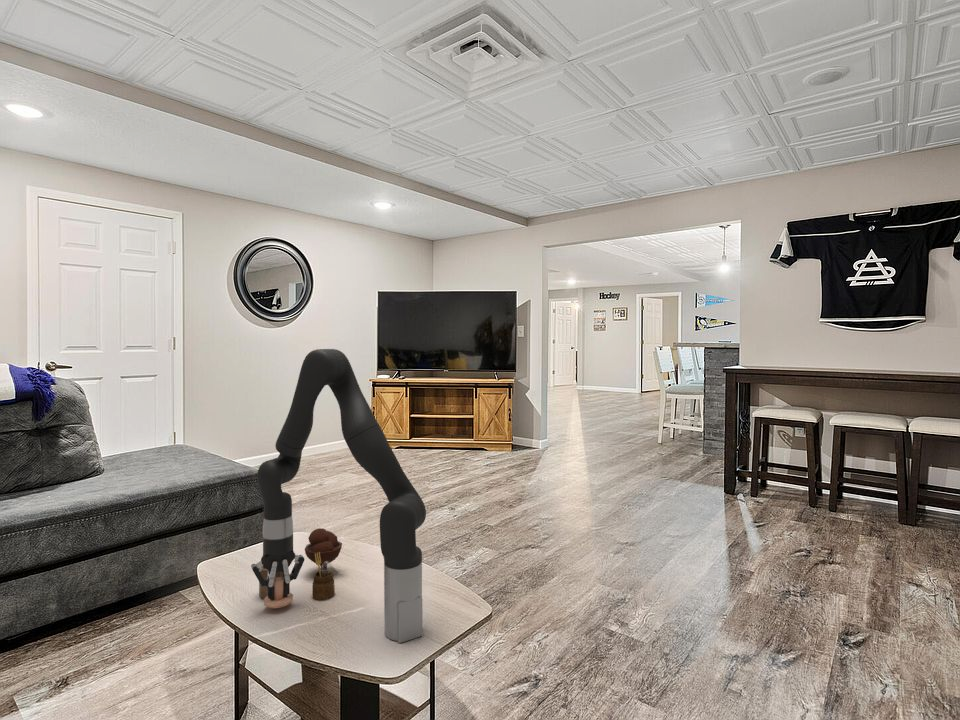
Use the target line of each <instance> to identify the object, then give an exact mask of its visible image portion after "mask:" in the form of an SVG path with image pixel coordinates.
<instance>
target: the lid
mask: <svg viewBox="0 0 960 720" xmlns="http://www.w3.org/2000/svg"><path fill="white" fill-rule="evenodd" d="M273 586H274V600H272V601H271V600H270V599H269V598H268V596H266V597H265V598H264V600H263V606H264V607H266V608H269V609H278V608H279V609H280V608H284V607H286V606H288V605H290V604H291V603H292V602H293V601H294V595H293V593H292V592H290V593H289V594H288V595H287V597H285V598H284V578H283V577H276V578H274V583H273Z"/></svg>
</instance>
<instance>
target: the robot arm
mask: <svg viewBox="0 0 960 720" xmlns="http://www.w3.org/2000/svg"><path fill="white" fill-rule="evenodd" d="M326 386H328V387H329V388H330V390H331V391H332V394H333V395H334V397H335V399H336V401H337V403H338V407H339V410H340V411H339V413H340V422H341V423H340V424H341V425H340V426H341V433H342V436H343V439H344V441H345V443H346V445H347V447H348V450H349V451H350V453H351V455H352V457H353V459H354V460H355V461H356V463H357V464H358V465H359V466H360V467H361V468H362V469H364V471H366V472H367V473H368V474H369V475H370V476H371V477H373V479H374V480H375V481H376V482H378V484H379V485H380V487H381V488H382V490H383V493H384V495H385V496H386V498H387V501H388V503H386V504H385V505H384V506H383V508H382V509H381V512H380V516H379V539H380V541H379V542H380V543H379V544H380V550H381V554H382V556H383V570H384V571H383V580H384V581H383V587H384V589H383V593H384V594H383V595H384V597H383V602H384V604H383V607H384V608H383V610H384V612H383V614H384V616H383V617H384V620H383V622H384V635H385V637H386V638H388V639H389V640H391V641H396V642H397V643H398V644H400V643H404V642H407V641H410V640H414V639H417V637H418V638H420V636H421V637H422V635H423V634H424V633H423V622H424V621H423V551H422V550H421V548H420V547H419V546H417V540H416V539H417V537H416V530H417V529H419V528H420V527H421V526H422V525H423V524H424V523H425V521H426V517H427V510H426V505H425V503H424V501H423V500H422V498H421V496H420V495H419V493H418V492H417V490H416V488H415V487H414V485H413V484H412V483H411V481H410V479H409V478H408V477H407V475H406V473H405V472H404V470H403V468H402V467H401V465H400V463H399V460H398V458H397V456H396V455H395V453H394V451H393V449H392V447H391V446H390V444H389V442H388V439H387V437H386V434H385V432H384V431H383V429H382V427H381V425H380V423H379V422H378V420H377V419H376V417H375V415H374V413H373V411H372V409H371V407H370V405H369V403H368V401H367V400H366V397H365V396H364V393H363V391H362V389H361V387H360V385H359V382H358V380H357V378H356V375H355V372H354V370H353V367H352V365H351V362H350V360H349V359H348V357H347V355H346V354H345V353H344V352H342V351H341V350H339V349H336V348H319V349H318V348H317V349H313V350H311V351H310V352H308V353H307V354H306V356H305V357H304V359H303V361H302V365H301V368H300V371H299V375H298V379H297V383H296V386H295V389H294V390H295V391H294V394H293V397H292V398H293V399H292V402H291V404H290V408H289V411H288V414H287V416H286V419H285V421H284V423H283V425H282V427H281V430H280V431H279V434H278V437H277V439H276V441H275V449H276V451H277V452H278V453H279V455H278V456H277V457H275V458H270V459H269V460H265V461H263V462H262V463H261V464H260V465H259V467H258V470H257V471H256V472H257V474H256V479H257V480H256V482H257V485H258V488H259V492H260V496H261V498H262V502H263V522H262V532H261V533H262V556H261V558H260V561H258V562H257V563H252V564H251V565H250V567H251V569H252V572H253V573H254V575H255V578H256V579H257V580H258V581H257V582H258V583H259V582H260V584H261V586H267V596H268V598H269V599H270V600H271V601H272V600H274V586H273V583H274V578H275V573H277V572H282V573H283V578H284V598H285V597H287V595H288V594H289V593H291V592H290V591H291V590H290V585H291V584H290V583H291V581H293V580H297V579H298V577H299V574H300V571H301V570H302V567H303V564H304V562H305V559H306V558H305V557H304V556H303V555H302V554H296V553H295V551H294V521H293V501H292V500H293V499H292V495H291V494H290V493H288V492H286V491H284V492H283V489H282V485H283V484H287V483H288V482H290V481H292V480H293V479H294V478H295V477H296V475H297V474H298V472H299V470H300V466H301V461H302V460H301V459H302V455H303V454H302V453H303V450H304V447H305V446H306V444H307V442H308V440H309V437H310V435H311V431H312V429H313V425H314V424H313V423H314V409H315V405H316V402H317V399H318V398H319V395H320V394H321V392H322V391H323V389H324V388H325V387H326ZM292 562H294V565H293V567H292V570H291V572H290V571H289V569H290V566H291V564H292ZM262 565H264V566H265V568H266V569H267V570H268V577H267V579H264V578H263V576H262V575H261V573H260V571H261V570H262V568H261V567H262ZM423 636H424V635H423Z"/></svg>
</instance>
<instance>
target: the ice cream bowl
mask: <svg viewBox="0 0 960 720" xmlns="http://www.w3.org/2000/svg"><path fill="white" fill-rule="evenodd" d="M342 548H343V543H342V542H341V541H339V540H338V536H337V535H336V534H335V533H334V532H332V531H330V530H326V528H320V527H319V528H315V529H314V530H313V531H311V532H310V533H309V536H308V543H307V544H306V546H305V548H304V554H305V555H306V558H307V559H309V561H311V562H312V563H314V564H316V560H315V553H316V558H317V553H318V558H319V552H320V558H321V564H320V571H322V570H328V565H329V564H331V563H332V562H334V561H335V560H336V559H337V558H338V557H339V555H340V553H341V550H342ZM317 561H318V560H317ZM326 561H328V563H326ZM324 562H325V563H324ZM322 564H324V565H322ZM325 566H326V567H325ZM322 568H323V569H322Z"/></svg>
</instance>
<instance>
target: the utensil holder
mask: <svg viewBox="0 0 960 720" xmlns="http://www.w3.org/2000/svg"><path fill="white" fill-rule="evenodd" d="M315 560H316V563H315V565H316V566H318V571H316V572H315V573H314V574H313V581H312V587H311V588H312V591H311V592H312V599H313V600H314V601H321V602H322V601H327V600H331V599H333V598H334V597H335V594H336V593H335V590H336V589H335V579H334V573H333V571H332V570H331V564H329V563H328V561H326V563H328V564H327V570H322V571H321V566H320V564H321V558H320V552H319V558H318V553H317V558H316V553H315ZM317 560H318V561H317ZM324 563H325V562H324ZM322 565H324V564H322ZM325 567H326V566H325ZM322 569H323V568H322Z"/></svg>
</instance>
